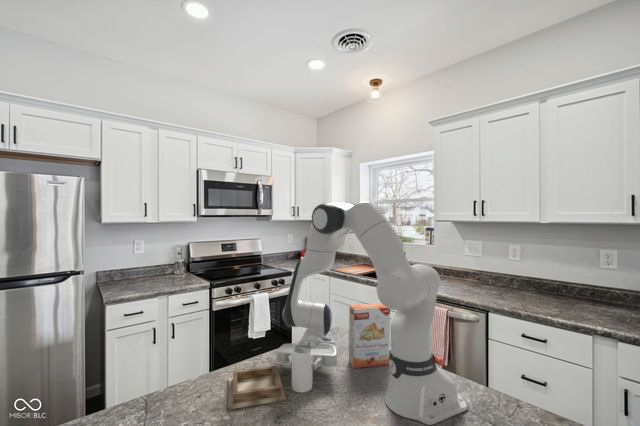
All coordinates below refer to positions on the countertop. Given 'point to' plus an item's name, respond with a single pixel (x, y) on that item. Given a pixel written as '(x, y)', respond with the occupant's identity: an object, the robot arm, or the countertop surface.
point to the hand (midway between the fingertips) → (302, 366)
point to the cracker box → (369, 335)
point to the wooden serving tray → (255, 387)
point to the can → (302, 369)
